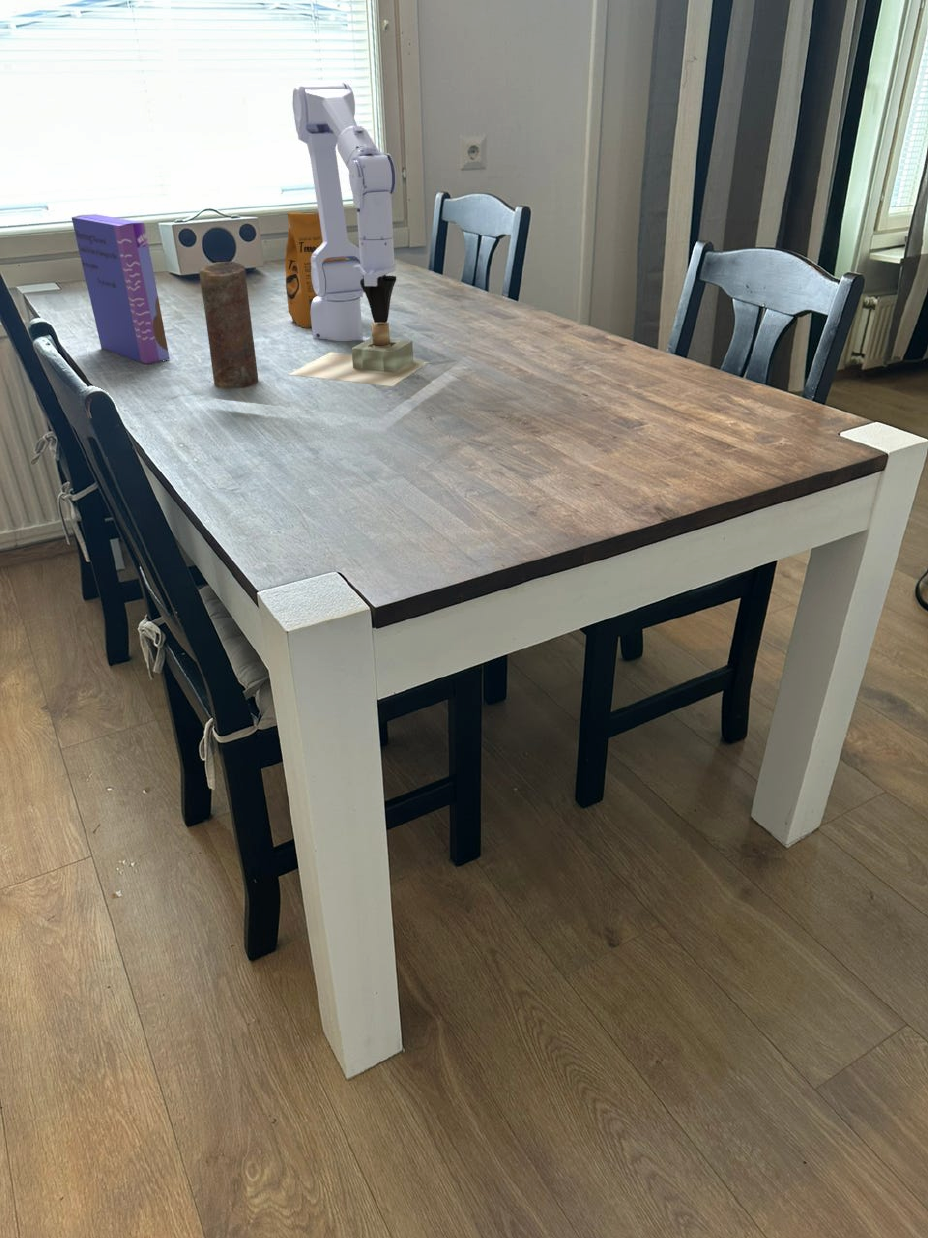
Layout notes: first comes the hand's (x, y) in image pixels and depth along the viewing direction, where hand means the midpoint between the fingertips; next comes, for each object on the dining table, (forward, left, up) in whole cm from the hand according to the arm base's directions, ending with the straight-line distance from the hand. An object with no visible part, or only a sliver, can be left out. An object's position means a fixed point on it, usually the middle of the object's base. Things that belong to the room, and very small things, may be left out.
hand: (380, 321), depth 151 cm
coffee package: (-30, +31, -9) cm, 44 cm away
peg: (0, 0, -7) cm, 7 cm away
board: (-3, -3, -9) cm, 10 cm away
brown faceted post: (-19, -17, -9) cm, 27 cm away
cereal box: (-51, -4, -9) cm, 52 cm away
